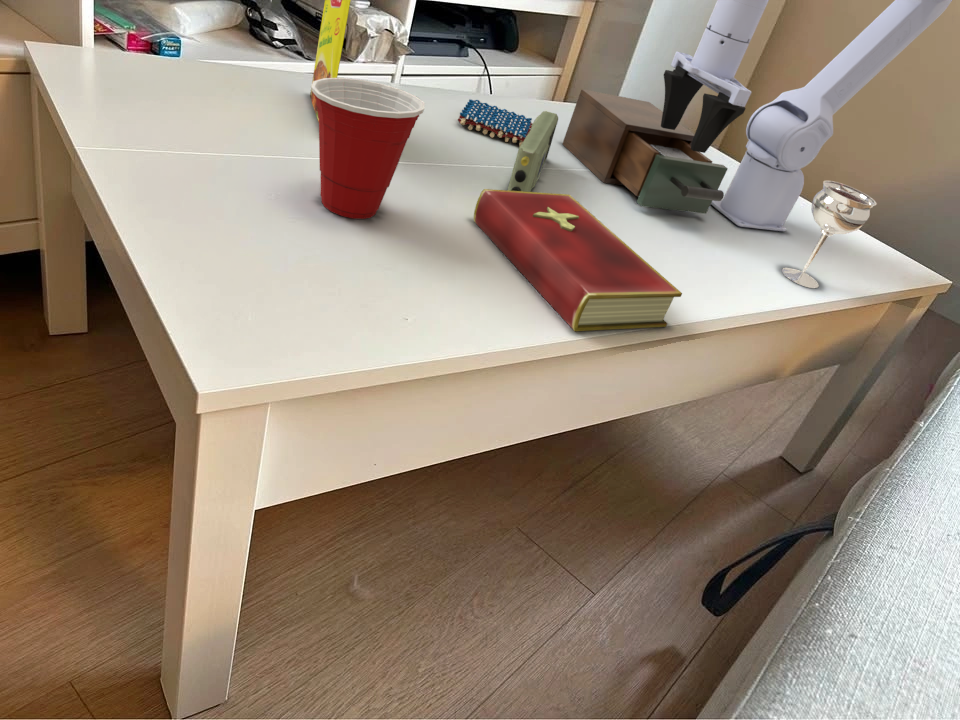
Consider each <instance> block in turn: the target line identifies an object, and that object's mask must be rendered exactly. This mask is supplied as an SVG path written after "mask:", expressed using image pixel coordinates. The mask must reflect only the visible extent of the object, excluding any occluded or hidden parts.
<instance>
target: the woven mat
mask: <svg viewBox="0 0 960 720" xmlns="http://www.w3.org/2000/svg"><path fill="white" fill-rule="evenodd" d="M532 120H533V118H532V117H527V116H526V115H524V114H520V113H516V112H515V111H510V110H507V109H505V108H502V109H501V107H498V106H497V105H493V104H489V103H487V102H483V101H482V100H480V99H474V100H473V99H471V98H469V99H468V101H467V104H466V103H465V106H463V109H462V110H461V112H459V117H458V119H457V121H458V123H459V124H460V125H462V126H466V125H468V127H467V129H468V131H472V130H473V129H474V127H475V131H477V132H479V131H480V132H481V129H482V134H483V135H487V134H488V132H490V134H489V137H490V138H492V139H493V138H495V135H496V136H497V137H498V138H500V139H502V138H504V142H505V143H508V142H509V141H510V139H512V141H511V142H512V143H513V144H516V143H517V142H518V141H519V143H518V146H519V147H520V146H521V144H522V143H523V141H524V140H525V138H526V136H527V135H528V133H529V132H530V130H531V127H532V124H533V122H532Z"/></svg>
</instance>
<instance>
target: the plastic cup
mask: <svg viewBox="0 0 960 720" xmlns="http://www.w3.org/2000/svg"><path fill="white" fill-rule="evenodd" d="M312 81H313V80H312ZM311 90H312V92H313V93H314V95H315V99H316V107H317V108H318V118H319V122H318V138H319V139H318V147H319V149H318V151H319V152H318V153H319V155H318V157H319V172H320V198H321V203H322V205H323V207H324V208H325V209H327V210H328V211H329V212H331V213H334V214H336V215H338V216H341V217H344V218H349V219H353V220H365V219H371V218H372V217H374V216H375V215H376V214H377V213H378V210H379V209H380V207H381V204H382V202H383V201H384V197H385V194H386V192H387V190H388V188H389V187H390V185H391V182H392V180H393V177H394V175H395V172H396V170H397V168H398V165H399V162H400V159H401V157H402V155H403V153H404V150H405V147H406V145H407V142H408V139H410V136H411V134H412V131H413V129H414V128H415V125H416V122H417V121H418V120H419V117H420V115H421V114H423V113H424V111H425V106H426V105H425V104H426V103H425V102H424V101H423V100H422V99H420V98H419V97H418V96H417V95H414V94H412V93H410V92H408V91H405V90H403V89H400V88H396V87H393V86H391V85H387V84H384V83H380V82H379V83H378V82H375V81H370V80H364V79H356V78H348V77H347V78H346V77H337V78H323V79H320V80H316V81H313V83H312V82H311V85H310V91H311Z"/></svg>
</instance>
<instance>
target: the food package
mask: <svg viewBox="0 0 960 720" xmlns="http://www.w3.org/2000/svg"><path fill="white" fill-rule="evenodd" d="M351 1H352V0H324V3H323V11H322V17H321V23H320V29H319V35H318V43H317V49H316V55H315V60H314V68H313V73H312V74H313V75H312V82H311V84H312V83H313V81H316V80H320V79H323V78H338V76H339V75H338V74H339V69H340V64H341V57H342V52H343V46H344V40H345V35H346V31H347V29H346V28H347V24H348V18H349V13H350V6H351ZM309 97H310V101H311V104H312V108H313V110H314V113H315V116H316V119H317V122H318V123H319V118H318V108H317V107H316V99H315V95H314V93H313V92H312V90H311V89H310V92H309Z"/></svg>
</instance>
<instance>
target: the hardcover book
mask: <svg viewBox="0 0 960 720" xmlns="http://www.w3.org/2000/svg"><path fill="white" fill-rule="evenodd" d="M473 221H474V223H475V225H477V226H478V227H479V228H480V230H482V232H483V233H484V234H485V235H486V236H487V237H488V238H489V239H490V241H492V243H493V244H494V245H495V246H496V248H498V249H499V250H500V251H501V252H502V253H503V255H504V256H505V257H506V258H507V259H508V260H509V261H510V262H511V263H512V264H513V266H514V267H515V268H516V269H517V270H518V271H519V272H520V273H521V274H522V276H524V278H525V279H526V280H527V281H528V282H529V283H530V284H531V285H532V286H533V288H534V289H535V290H536V291H537V292H538V293H539V294H540V295H541V296H542V297H543V298H544V299H545V301H546V302H547V303H548V304H549V305H550V306H551V307H552V308H553V309H554V311H555V312H557V314H558V315H559V316H560V317H561V319H563V320H564V322H565V323H566V324H567V325H569V327H570V328H571V329H572V331H574V332H586V331H587V332H589V331H604V330H605V331H606V330H607V331H609V330H610V331H611V330H626V329H645V328H646V329H647V328H665V327H667V325H668V324H669V323H668V322H667V321H666V320H665V317H666V315H667V313H668V311H669V309H670V306H671V304H672V303H673V300H674V298H681V297H682V295H683V292H681V290H679V289H678V288H677V287H676V286H674V284H672V283H671V282H670V281H669V280H668V279H667V278H665V277H664V276H663V275H662V274H661V273H660V272H659V271H658V270H656V269H655V268H654V267H653V266H652V265H651V264H649V262H647V261H646V260H645V259H644V258H642V257H641V256H640V255H639V254H638V253H637V252H636V251H635V250H634V249H632V248H631V247H630V246H629V245H628V244H627V243H625V242H624V241H623V240H622V239H621V238H620V237H618V236H617V235H616V234H615V233H614V232H613V231H612V230H611V229H609V227H607V226H606V224H604V223H603V222H601V220H599V219H598V218H597V217H596V216H594V214H592V213H591V212H590V211H589V210H588V209H586V207H585V206H584V205H582V204H581V203H580V202H579V201H577V200H576V198H574V197H573V196H572V195H571V194H569V193H568V194H566V193H552V192H551V193H550V192H539V191H538V192H537V191H535V192H534V191H531V192H523V191H508V189H507V190H505V189H492V188H491V189H490V188H483V190H482V191H481V192H480V194H479V196H478V198H477V201H476V203H475V207H474V212H473Z"/></svg>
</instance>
